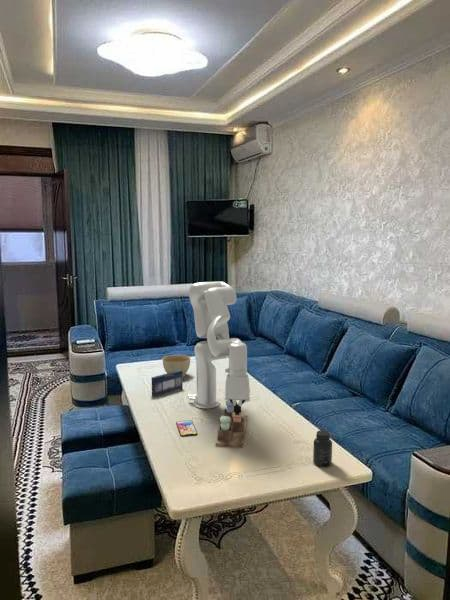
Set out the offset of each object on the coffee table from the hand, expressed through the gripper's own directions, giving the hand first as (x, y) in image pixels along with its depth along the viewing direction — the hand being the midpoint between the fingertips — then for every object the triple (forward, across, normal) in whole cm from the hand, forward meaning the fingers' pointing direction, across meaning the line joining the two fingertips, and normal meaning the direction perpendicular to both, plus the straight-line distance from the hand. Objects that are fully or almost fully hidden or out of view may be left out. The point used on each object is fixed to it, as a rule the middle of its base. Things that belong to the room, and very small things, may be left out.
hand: (237, 413), depth 203 cm
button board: (+8, -2, 0) cm, 8 cm away
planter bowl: (+8, -42, +69) cm, 81 cm away
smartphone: (+9, -22, 0) cm, 24 cm away
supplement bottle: (+8, +34, -23) cm, 42 cm away
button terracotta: (+6, 0, 0) cm, 6 cm away
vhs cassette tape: (+8, -41, +43) cm, 60 cm away
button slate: (+5, -4, +9) cm, 11 cm away
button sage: (+5, -4, -9) cm, 11 cm away
